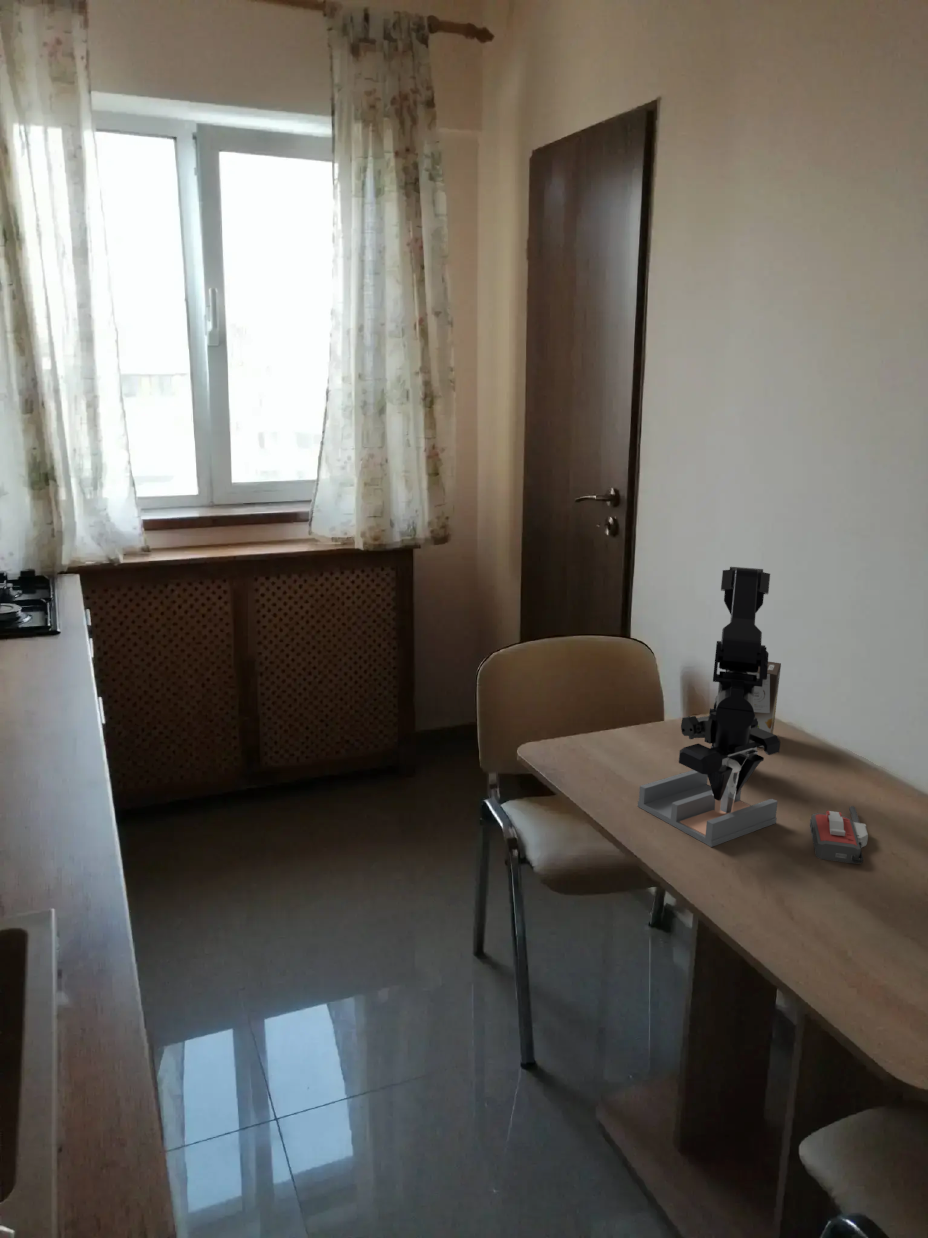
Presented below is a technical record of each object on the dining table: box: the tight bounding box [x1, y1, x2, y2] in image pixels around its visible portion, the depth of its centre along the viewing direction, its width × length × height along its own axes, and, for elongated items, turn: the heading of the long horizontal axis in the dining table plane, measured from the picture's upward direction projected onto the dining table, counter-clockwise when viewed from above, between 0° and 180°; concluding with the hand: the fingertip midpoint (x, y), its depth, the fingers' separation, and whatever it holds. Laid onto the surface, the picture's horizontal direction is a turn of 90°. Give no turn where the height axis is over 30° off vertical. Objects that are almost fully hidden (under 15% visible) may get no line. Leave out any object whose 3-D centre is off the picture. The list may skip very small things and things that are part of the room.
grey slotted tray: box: [637, 769, 778, 848], centre depth 160 cm, size 16×17×4 cm
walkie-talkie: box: [809, 805, 869, 865], centre depth 153 cm, size 9×4×20 cm
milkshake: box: [712, 757, 747, 814], centre depth 155 cm, size 4×5×10 cm
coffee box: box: [749, 661, 782, 749], centre depth 193 cm, size 9×6×16 cm
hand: (725, 796), depth 156 cm, fingers closed on milkshake, 4 cm apart
